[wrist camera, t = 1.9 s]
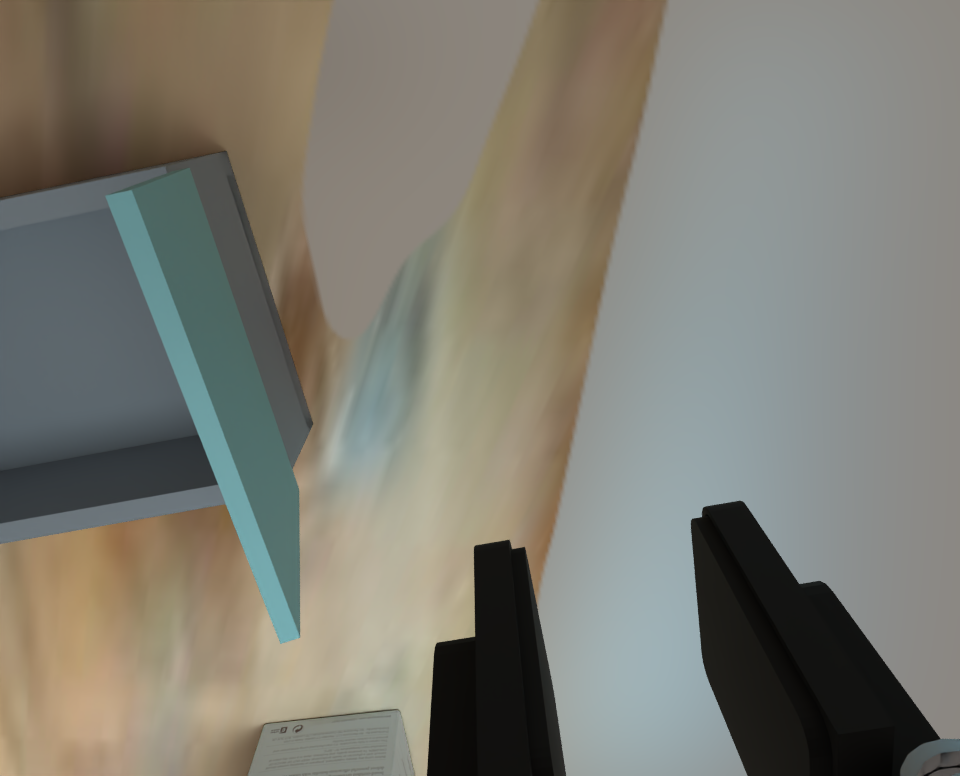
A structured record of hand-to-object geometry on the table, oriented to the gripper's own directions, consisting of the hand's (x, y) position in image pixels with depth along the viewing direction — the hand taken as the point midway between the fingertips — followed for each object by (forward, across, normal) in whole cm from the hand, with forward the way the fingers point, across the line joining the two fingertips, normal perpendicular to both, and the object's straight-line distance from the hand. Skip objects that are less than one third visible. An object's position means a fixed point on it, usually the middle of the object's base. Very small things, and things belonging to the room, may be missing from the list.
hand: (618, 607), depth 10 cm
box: (+25, +22, 0) cm, 33 cm away
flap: (+13, +11, 0) cm, 17 cm away
